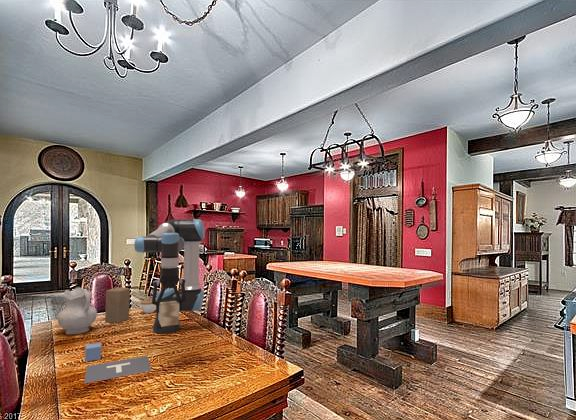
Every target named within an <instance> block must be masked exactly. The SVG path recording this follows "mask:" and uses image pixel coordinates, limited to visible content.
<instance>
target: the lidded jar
mask: <svg viewBox="0 0 576 420" xmlns="http://www.w3.org/2000/svg"><path fill="white" fill-rule="evenodd" d="M140 310H141V311H142V312H143V314H153V313H154V312H156V305H153V304H152V299H151V298H148V299H145V300H142V301H140Z"/></svg>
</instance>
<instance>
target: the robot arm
mask: <svg viewBox="0 0 576 420" xmlns="http://www.w3.org/2000/svg"><path fill="white" fill-rule="evenodd" d="M205 234H206V232H205V226H204V221H202V219H196V218H187V219H186V218H184V219H183V218H177V219H170V220H167V221H165V222H163V223H161V224H160V225H159V226H158V227H157V229H156V230H154V231H152V232H151V233H149V234H148V235H146V236H143V235H142V236H137V237H135V239H134V243H133V245H134V250H135V252H136V253H160V259H161V260H160V267H161V268H160V278H159V280H153V282H152V284H153V290H152V297H151V300H152V304H153V305H156V309H155V320H154V322H153V325H152V332H153V333H156V334H170V333H174V332H177V331H179V330H181V322H180V320H179V319H180V312H197V311H200V310H201V309H202V307H203V303H204V298H205V297H204V295H205V291H204V290H202V286H201V285H200V245H201V244H202V241H203V240H204V239H205V237H206V236H205ZM183 249H184V251H183ZM182 251H183V253H184V254H183V278H179V260H180V258H179V252H182ZM178 283H179V284H180V290H179V289H178V288H177V284H178ZM160 284H161V285H162V287H161V290H159V291H158V287H159V285H160ZM169 301H177V303H178V304H179V306H178V325H171V326H163V327H161V325H160V323H159V321H161V304H160V302H169Z"/></svg>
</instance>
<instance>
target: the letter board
mask: <svg viewBox="0 0 576 420" xmlns="http://www.w3.org/2000/svg"><path fill="white" fill-rule="evenodd" d="M152 371H153V370H152V367H151V364H150V360H149V357H148V355H146V356H145V355H144V356H140V357H139V356H138V357H133V358H126V359H120V360H116V361H110V362H105V363H98V364H97V363H96V364H92V365H86V369H85V375H84V380H83V382H84V383H83V384H88V383H93V382H99V381H104V380H110V379H115V378H119V377H120V378H121V377H125V376H131V375H136V374H137V375H138V374H141V373H147V372H152Z"/></svg>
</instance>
